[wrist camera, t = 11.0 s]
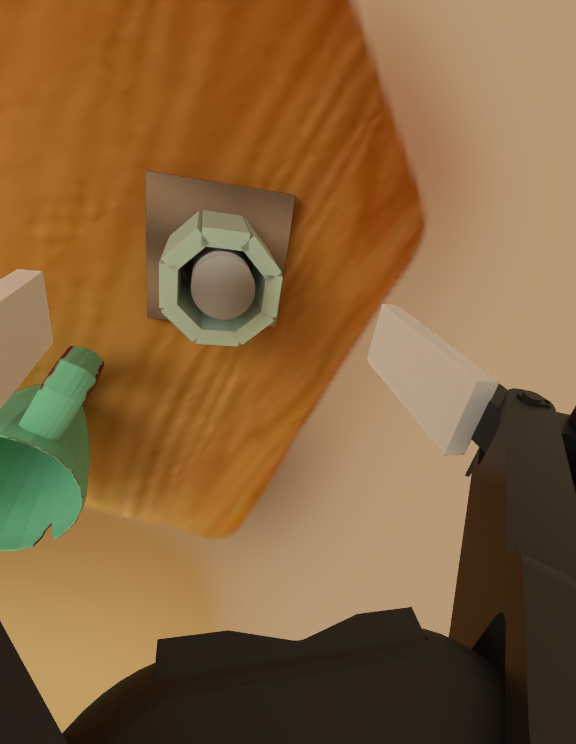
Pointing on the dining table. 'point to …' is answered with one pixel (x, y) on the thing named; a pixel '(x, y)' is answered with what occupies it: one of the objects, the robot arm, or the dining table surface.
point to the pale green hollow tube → (177, 289)
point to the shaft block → (213, 265)
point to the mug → (46, 452)
